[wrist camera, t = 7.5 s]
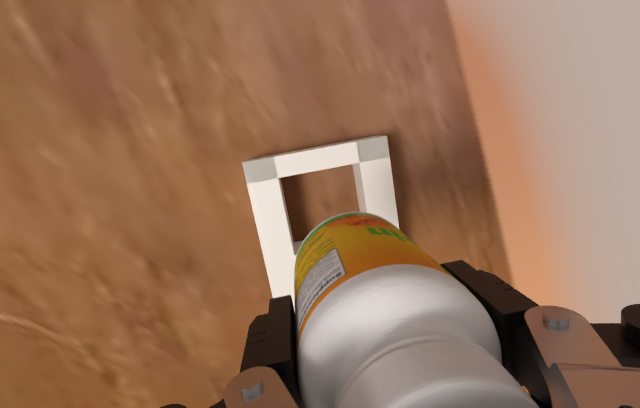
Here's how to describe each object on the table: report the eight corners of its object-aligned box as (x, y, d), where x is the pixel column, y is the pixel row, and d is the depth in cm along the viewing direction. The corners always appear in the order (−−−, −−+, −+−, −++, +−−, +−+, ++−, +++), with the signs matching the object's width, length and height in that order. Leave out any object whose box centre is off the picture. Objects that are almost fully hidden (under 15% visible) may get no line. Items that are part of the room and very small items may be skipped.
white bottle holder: (247, 159, 29) (241, 163, 25) (375, 135, 30) (388, 135, 26) (291, 355, 33) (292, 384, 30) (403, 331, 34) (417, 356, 30)
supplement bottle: (431, 248, 15) (657, 429, 6) (365, 338, 16) (474, 629, 7) (337, 186, 14) (428, 284, 5) (270, 284, 15) (239, 536, 6)
